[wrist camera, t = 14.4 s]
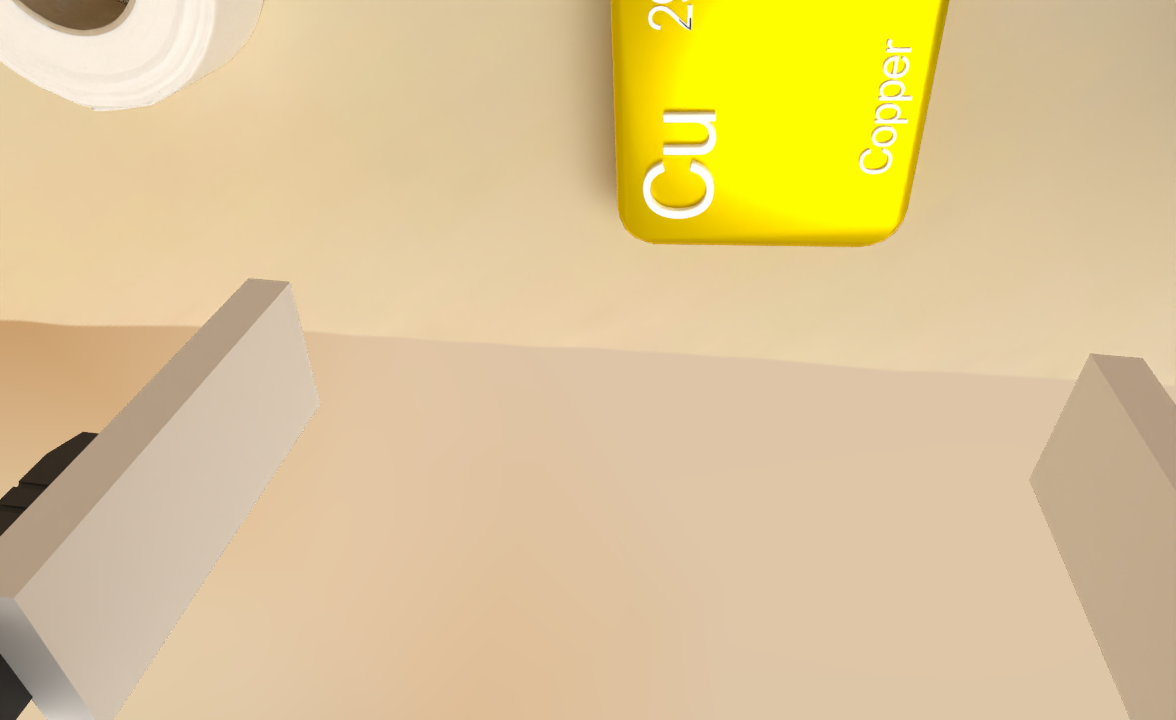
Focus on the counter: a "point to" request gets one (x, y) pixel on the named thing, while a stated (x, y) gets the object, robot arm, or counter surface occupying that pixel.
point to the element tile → (770, 117)
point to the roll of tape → (122, 45)
